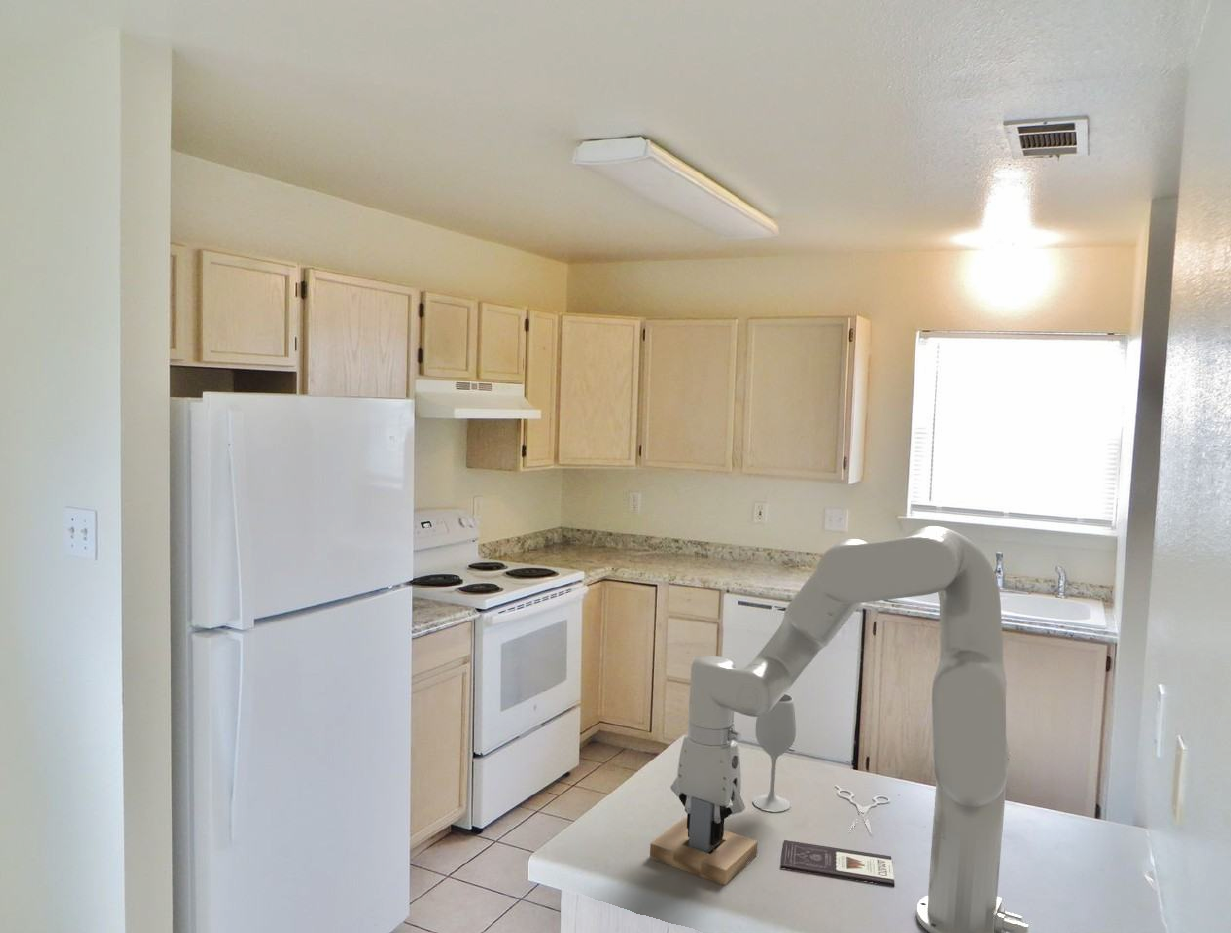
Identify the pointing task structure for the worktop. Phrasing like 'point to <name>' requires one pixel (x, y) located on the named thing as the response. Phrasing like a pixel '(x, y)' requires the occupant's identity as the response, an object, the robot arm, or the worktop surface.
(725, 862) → the socket board
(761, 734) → the wineglass
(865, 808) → the scissors
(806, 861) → the chocolate bar
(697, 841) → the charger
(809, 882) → the worktop surface
